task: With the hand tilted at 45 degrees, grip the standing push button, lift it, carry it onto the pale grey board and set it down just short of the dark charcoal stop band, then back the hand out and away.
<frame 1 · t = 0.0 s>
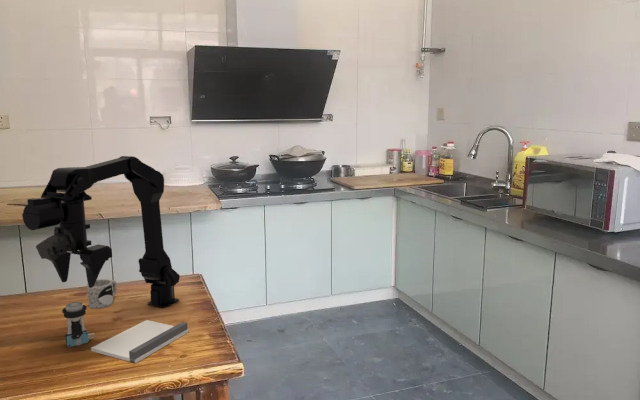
hand: (77, 284, 123), 15 cm above the table, tool pointing down, fingers open, 9 cm apart
mug: (105, 303, 152), on the table
push button: (80, 343, 125), on the table
marker board: (141, 341, 126), on the table
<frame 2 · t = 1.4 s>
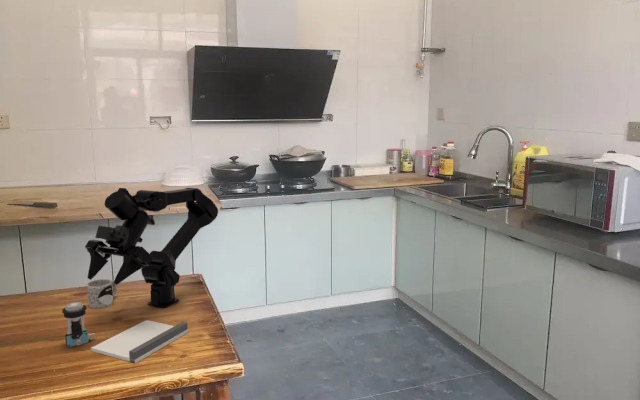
hand: (101, 281, 130), 13 cm above the table, tool tilted 45°, fingers open, 9 cm apart
nothing on the table moved.
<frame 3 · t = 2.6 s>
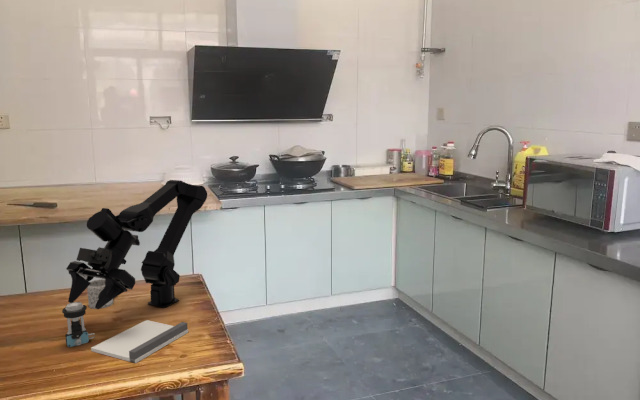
hand: (82, 305, 125), 9 cm above the table, tool tilted 45°, fingers open, 9 cm apart
nothing on the table moved.
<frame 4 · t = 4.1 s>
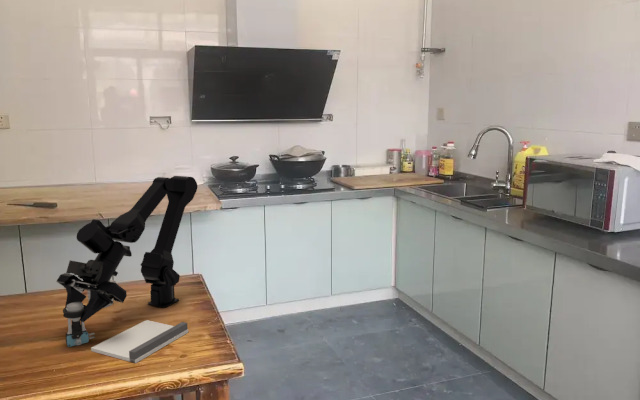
hand: (73, 319, 123), 7 cm above the table, tool tilted 45°, fingers closed on push button, 5 cm apart
push button: (80, 343, 125), on the table, touching gripper
everything else where it was.
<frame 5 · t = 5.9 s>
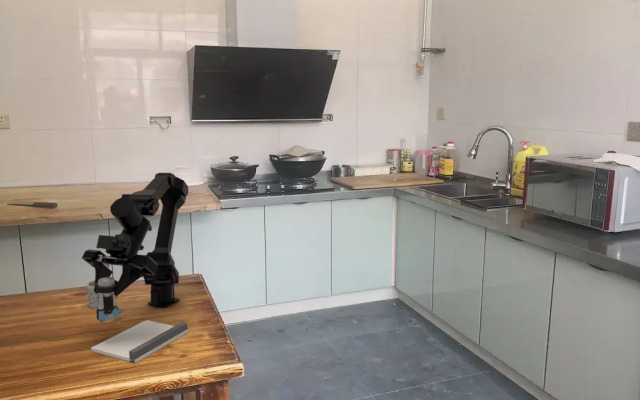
hand: (105, 294, 122), 13 cm above the table, tool tilted 45°, fingers closed on push button, 5 cm apart
push button: (111, 318, 124), point 6 cm above the table, touching gripper
everything else where it was.
when the fingers open (8 cm above the table, at t = 7.9 s): push button stays where it is, resting on marker board.
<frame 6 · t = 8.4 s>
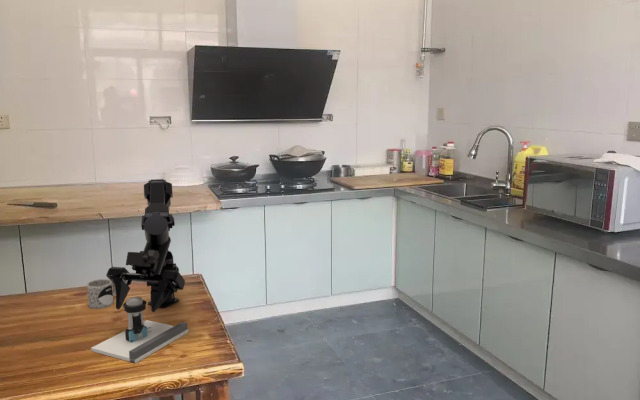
hand: (135, 310, 123), 9 cm above the table, tool tilted 45°, fingers open, 9 cm apart
push button: (139, 338, 126), point 1 cm above the table, touching marker board
everything else where it was.
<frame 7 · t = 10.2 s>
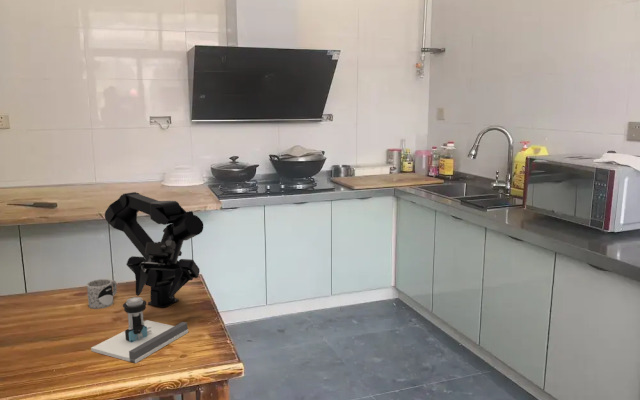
hand: (153, 296, 133), 9 cm above the table, tool tilted 45°, fingers open, 9 cm apart
nothing on the table moved.
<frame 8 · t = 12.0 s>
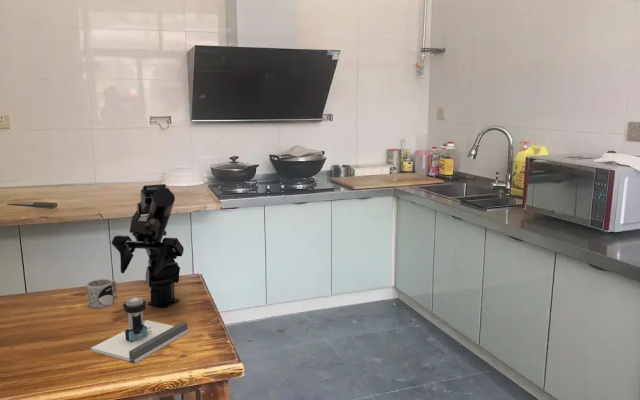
hand: (137, 273, 135), 14 cm above the table, tool tilted 45°, fingers open, 9 cm apart
nothing on the table moved.
at the end: push button inside the target area on the marker board (0.1 cm from its centre), point 0.6 cm above the marker board's base; push button tilted 0°; the gripper is holding nothing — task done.
